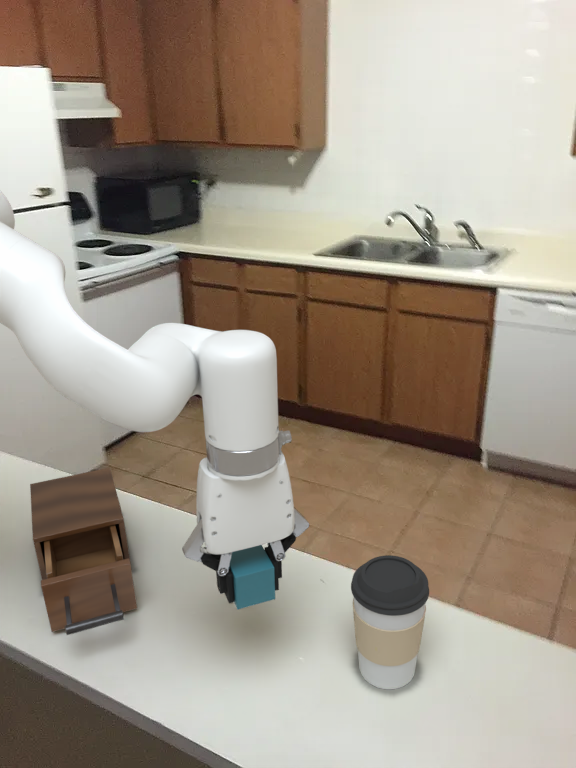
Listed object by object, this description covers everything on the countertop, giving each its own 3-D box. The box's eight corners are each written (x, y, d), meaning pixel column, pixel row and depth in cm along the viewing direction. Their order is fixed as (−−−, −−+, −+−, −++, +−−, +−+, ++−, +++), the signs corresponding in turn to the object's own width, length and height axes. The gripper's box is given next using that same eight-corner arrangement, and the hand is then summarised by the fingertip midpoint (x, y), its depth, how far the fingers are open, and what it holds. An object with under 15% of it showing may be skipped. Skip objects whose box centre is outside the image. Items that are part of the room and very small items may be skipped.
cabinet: (131, 570, 101) (123, 517, 98) (45, 593, 98) (32, 539, 94) (117, 515, 115) (109, 467, 111) (40, 533, 111) (30, 483, 107)
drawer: (145, 641, 87) (138, 594, 84) (54, 668, 83) (43, 620, 80) (122, 548, 105) (115, 506, 102) (46, 566, 102) (37, 524, 98)
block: (237, 610, 74) (235, 577, 72) (226, 584, 78) (223, 553, 76) (275, 599, 75) (274, 567, 74) (262, 574, 79) (261, 543, 77)
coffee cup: (338, 651, 86) (338, 557, 79) (401, 631, 88) (405, 538, 82) (371, 707, 78) (373, 606, 72) (438, 683, 81) (445, 584, 75)
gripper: (304, 420, 75) (306, 552, 82) (154, 448, 70) (170, 587, 77) (332, 450, 68) (331, 590, 76) (169, 485, 63) (184, 632, 71)
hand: (250, 587), depth 76 cm, fingers closed on block, 4 cm apart
